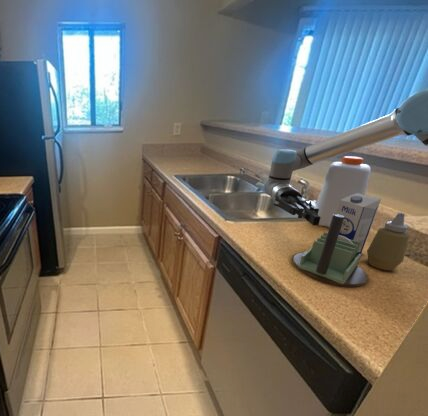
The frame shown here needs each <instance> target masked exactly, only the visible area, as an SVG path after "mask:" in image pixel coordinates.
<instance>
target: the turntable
mask: <svg viewBox="0 0 428 416" xmlns="http://www.w3.org/2000/svg"><path fill="white" fill-rule="evenodd" d="M306 252H307V251H302V252H298V253H295V255H294V256H293V258H292V263H293V265H294V266H295V268H296V269H297V270H299V271H300V272H301V273H303V274H304V275H306V276H308V277H310V278H311V279H314V280H315V281H316V280H317V281H319V282H322V283H325V284H329V285H333V286H336V287H337V286H338V287H344V288H357V287H362V286H364V285H365V284H366V283H367V280H368V274H367V273H366V271H365V270H363V268H361V267H360V266H359V265H358V266H357V267H356V268H355V270H354V271H353V272H352V274H351V275H350V276H349V278H348V279H347V280H346V282H345V283H344V284H341V283H338V282H335V281H333V280H330V279H327V278H325V277H322V276H319V275H317V274H314V273H312V272H309V271H306V270H304V269H301V268H298V266H299V264H300V261H301V257H302V255H303V254H304V253H306Z"/></svg>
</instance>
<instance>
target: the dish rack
mask: <svg viewBox="0 0 428 416" xmlns="http://www.w3.org/2000/svg"><path fill="white" fill-rule="evenodd" d="M344 217H345V216H343V215H340V214H333V217H332V220H331V224H330V227H328V230H327V232H326V231H324V232H323V234H321V235H320V237H317V238H316V240H314V241H313V243H312V246H311V247H310V248H309V249H308V250H306V251H305V252H306V253H304V254H303V255H302V257H301V261H300V264H299V266H298V268H301V269H304V270H306V271H309V272H312V273H314V274H317V275H319V276H322V277H325V278H327V279H330V280H333V281H335V282H338V283H341V284H344V283H345V282H346V280H347V279H348V278H349V276H350V275H351V274H352V272H353V271H354V270H355V268H356V267H357V266H358V267H359V263H360V260H361V258H362V255H363V254H362V253H361V254H360V253H359V254H358V255H356V254H357V252H358V249H359V246H360V243H361V242H358V241H354V240H350V239H348V238H346V237H344V236H341V235H339V233H340V230H341V227H342V224H343V220H344Z"/></svg>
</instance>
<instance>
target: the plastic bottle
mask: <svg viewBox="0 0 428 416" xmlns="http://www.w3.org/2000/svg"><path fill="white" fill-rule="evenodd" d="M363 161H364V158H363V157H360V156H352V155H346V156H345V155H344V156H343V157H342V158H341V161H333V162H332V163H331V164H330V166H329V167H328V170H327V173H326V176H325V178H324V181H323V184H322V187H321V189H320V192H319V194H318V197H317V200H316V205H317V207H318V208H319V212H318V216H320V217H321V218H320V221H319V225H318V226H320V227H325V228H329V227H330V224H331V220H332V217H333V214H337V210H338V207H339V204H340V201H341V199H343V198H346V197H348V196H350V195H352V194H356V193H360V194H363V195H366V194H367V189H368V185H369V182H370V177H371V172H372V170H371V169H372V168H371V166H370V165H369V164H366V163H363Z"/></svg>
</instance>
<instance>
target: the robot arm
mask: <svg viewBox="0 0 428 416" xmlns="http://www.w3.org/2000/svg"><path fill="white" fill-rule="evenodd" d="M412 135H413V136H414V137H416V138H417V140H419V141H420V142H421V143H422V144H423V145H424V146H426V147H428V87H427V88H424V89H421V90H419V91H417V92H415V93H413V94H411V95H409V96H408V97H407V98H406V99H405V100H404V101H403V102H402V103H401V104H400V105H399V106H398V107H396V108H394V109H393V111H392V112H391V113H390V114H387V115H385V116H382V117H379V118H378V119H375V120H372V121H368V122H366V123H364V124H361V125H359V126H356V127H354V128H351V129H349V130H346V131H344V132H341V133H339V134H336V135H333V136H331V137H329V138H326V139H324V140H321V141H318V142H315V143H313V144H311V145H308V146H306V147H303V148H300V149H298V150H295V149H289V148H278V149H275V151H274V152H273V155H272V158H271V163H270V164H271V165H270V170H269V174H268V178H267V179H266V180H265V181H264V182H263V190H264V191H265V193H266V195H268V196H269V197H270V198H272V199H273V200H274V201H273V206H275V207H278V208H280V209H282V210H283V211H285V212H287V214H290V215H292V216H297V218H298V219H305V220H306V221H307V222H308V223H309V224H310V225H312V226H320V225H319V221H320V218H321V217H320V216H318V212H319V208H318V207H317V205H316V203H317V200H314V199H311V200H309V201H307V199H306V198H304V197H303V196H302V194H301V192H300V191H299V190H297V189H296V188H294V187H293V186H292V185H290V184H291V179H292V176H293V172H295V171H298V170H301V169H304V168H307V167H310V166H312V165H315V164H319V163H321V162H325V161H327V160H330V159H334V158H336V157H339V156H342V155H346V154H348V153H352V152H354V151H357V150H361V149H363V148H367V147H369V146H372V145H375V144H378V143H381V142H384V141H387V140H390V139H393V138H397V137H399V136H403V137H404V136H405V137H409V136H412Z"/></svg>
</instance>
